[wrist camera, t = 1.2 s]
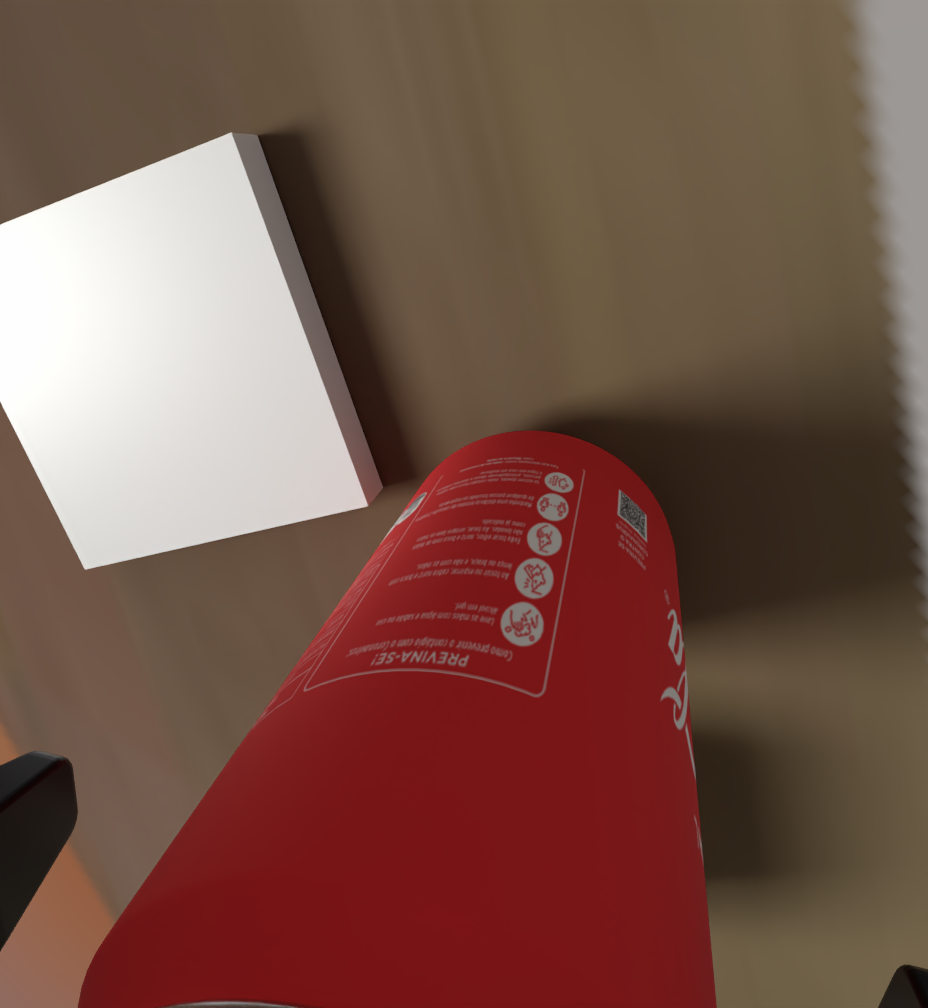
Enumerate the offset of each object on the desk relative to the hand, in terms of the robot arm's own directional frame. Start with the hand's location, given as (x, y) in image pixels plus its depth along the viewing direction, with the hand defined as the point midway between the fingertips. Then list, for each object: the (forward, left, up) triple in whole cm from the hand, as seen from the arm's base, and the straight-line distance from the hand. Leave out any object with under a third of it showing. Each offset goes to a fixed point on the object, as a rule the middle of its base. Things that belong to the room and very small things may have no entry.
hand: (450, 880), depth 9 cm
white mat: (0, +8, -9) cm, 12 cm away
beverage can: (0, 0, -9) cm, 9 cm away
